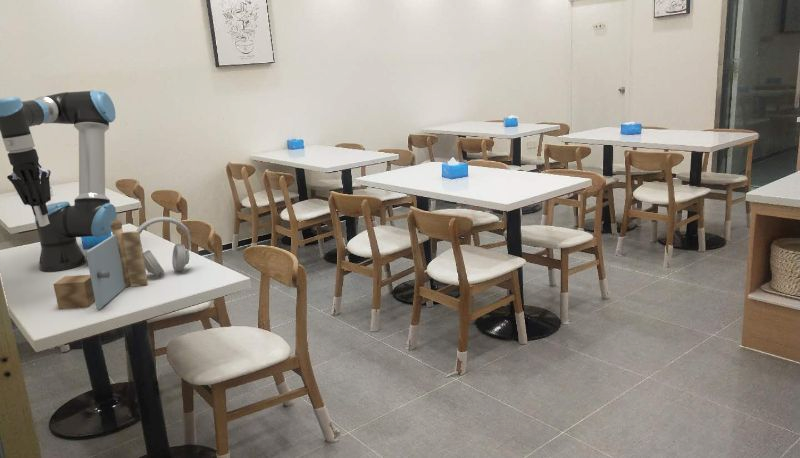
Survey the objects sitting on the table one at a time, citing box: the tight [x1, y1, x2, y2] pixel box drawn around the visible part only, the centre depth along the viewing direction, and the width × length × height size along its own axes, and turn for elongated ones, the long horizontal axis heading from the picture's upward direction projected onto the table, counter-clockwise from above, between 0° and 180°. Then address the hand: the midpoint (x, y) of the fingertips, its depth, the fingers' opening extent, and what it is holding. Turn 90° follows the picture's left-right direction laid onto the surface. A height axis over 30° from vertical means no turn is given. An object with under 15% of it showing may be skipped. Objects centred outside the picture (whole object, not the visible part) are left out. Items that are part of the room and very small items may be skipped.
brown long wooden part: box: [110, 219, 149, 289], centre depth 196 cm, size 8×3×22 cm, turn 93°
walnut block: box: [53, 274, 96, 310], centre depth 184 cm, size 9×7×8 cm
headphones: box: [135, 216, 192, 277], centre depth 207 cm, size 19×9×20 cm, turn 120°
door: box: [85, 234, 127, 310], centre depth 186 cm, size 4×20×18 cm, turn 3°
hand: (44, 225), depth 189 cm, fingers closed
